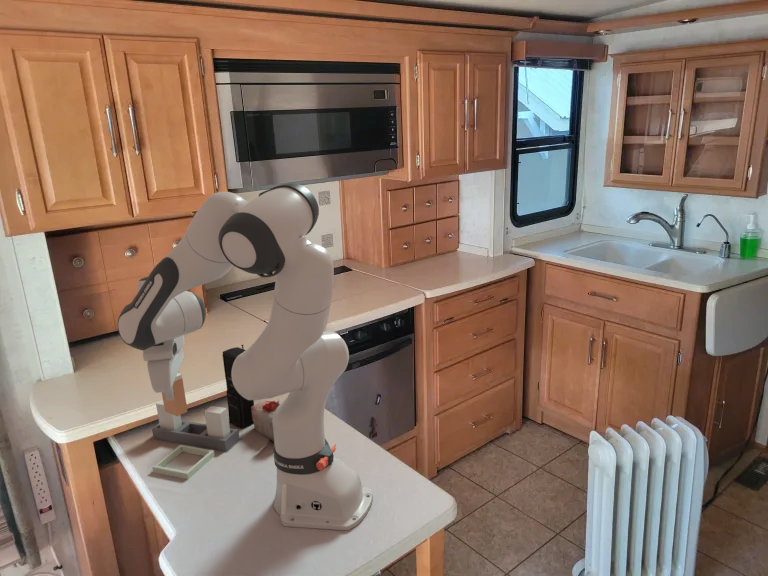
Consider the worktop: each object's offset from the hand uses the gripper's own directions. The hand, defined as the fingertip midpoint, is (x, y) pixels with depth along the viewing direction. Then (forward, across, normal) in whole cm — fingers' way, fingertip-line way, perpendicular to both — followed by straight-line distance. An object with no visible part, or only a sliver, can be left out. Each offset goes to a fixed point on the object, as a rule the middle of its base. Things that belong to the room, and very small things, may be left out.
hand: (173, 392), depth 139 cm
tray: (+21, 0, 0) cm, 21 cm away
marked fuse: (+5, 0, 0) cm, 5 cm away
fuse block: (+21, -12, +1) cm, 24 cm away
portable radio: (+21, -19, +13) cm, 31 cm away
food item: (+21, -11, +22) cm, 33 cm away
